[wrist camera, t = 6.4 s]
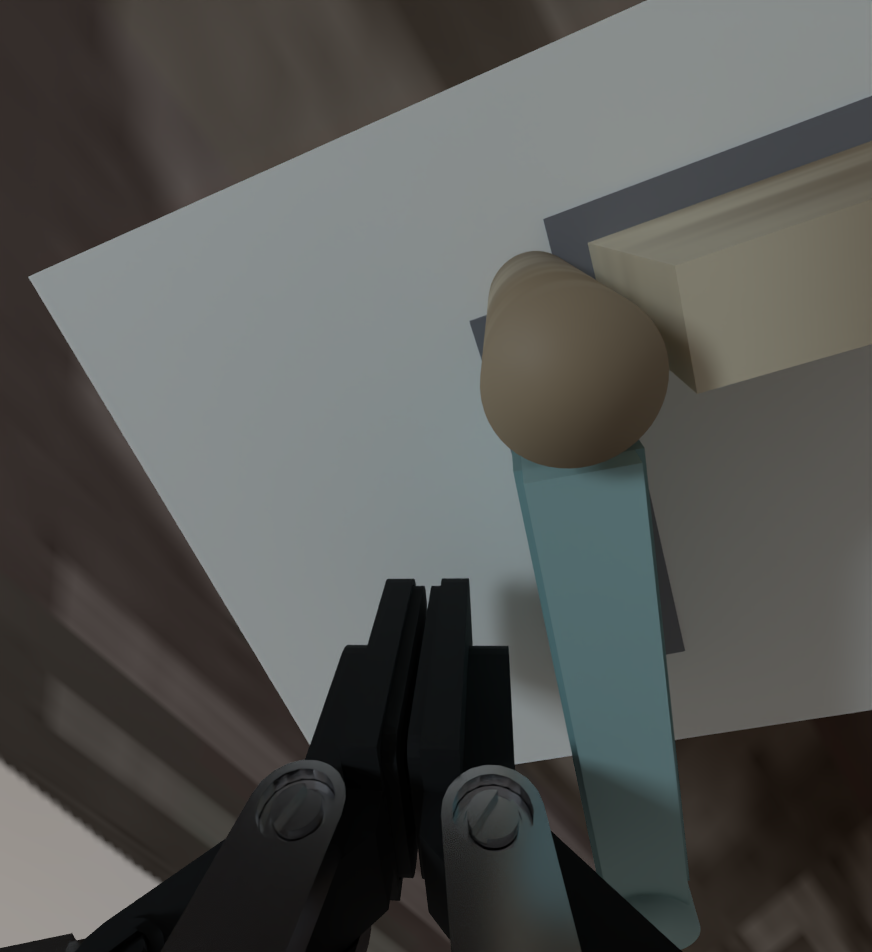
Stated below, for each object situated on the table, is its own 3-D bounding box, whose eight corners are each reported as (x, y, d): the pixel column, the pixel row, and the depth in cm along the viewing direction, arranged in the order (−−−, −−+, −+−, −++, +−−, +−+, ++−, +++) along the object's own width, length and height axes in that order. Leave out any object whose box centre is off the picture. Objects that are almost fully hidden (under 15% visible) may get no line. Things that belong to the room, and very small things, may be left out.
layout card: (1067, -182, 7) (1096, -204, 7) (1011, 677, 13) (1026, 690, 12) (39, 275, 11) (24, 277, 11) (340, 781, 16) (336, 794, 16)
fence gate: (506, 373, 10) (514, 490, 6) (585, 356, 10) (655, 464, 5) (574, 716, 13) (612, 955, 9) (634, 710, 13) (702, 953, 9)
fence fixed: (1099, 40, 8) (2367, -333, 3) (1089, 160, 9) (2100, 61, 3) (477, 268, 10) (454, 324, 5) (502, 351, 11) (509, 487, 5)
